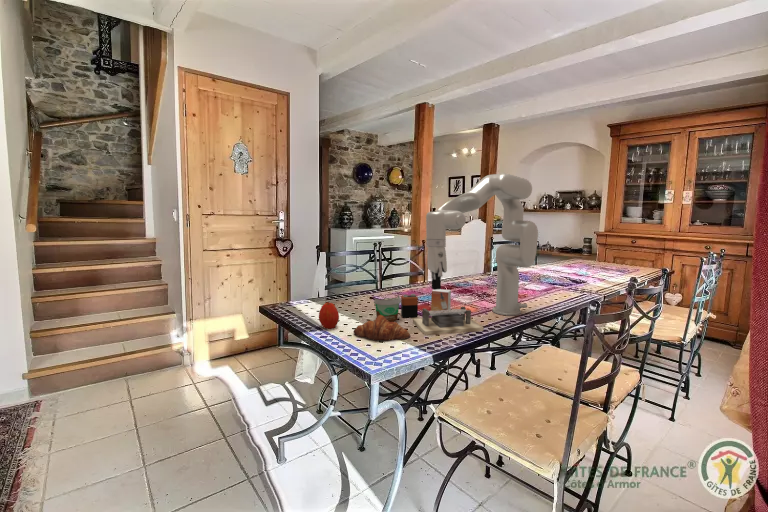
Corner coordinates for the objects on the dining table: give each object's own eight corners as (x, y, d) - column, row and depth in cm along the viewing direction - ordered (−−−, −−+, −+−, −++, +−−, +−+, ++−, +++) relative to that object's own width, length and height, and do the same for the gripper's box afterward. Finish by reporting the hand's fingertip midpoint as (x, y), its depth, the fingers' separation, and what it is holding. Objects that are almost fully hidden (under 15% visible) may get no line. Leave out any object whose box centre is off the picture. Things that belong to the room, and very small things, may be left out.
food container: (380, 325, 152) (380, 301, 150) (373, 321, 157) (373, 298, 156) (406, 321, 157) (406, 298, 156) (398, 317, 163) (399, 295, 162)
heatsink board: (465, 318, 160) (466, 302, 159) (483, 330, 145) (484, 312, 144) (412, 322, 155) (413, 305, 154) (425, 335, 140) (425, 316, 139)
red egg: (316, 325, 151) (315, 300, 150) (336, 323, 154) (335, 298, 153) (321, 332, 144) (320, 305, 142) (341, 329, 147) (341, 303, 145)
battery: (417, 317, 163) (418, 295, 161) (402, 318, 162) (402, 295, 160) (415, 314, 167) (415, 293, 166) (400, 315, 166) (401, 293, 165)
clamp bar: (465, 311, 153) (465, 308, 153) (468, 313, 150) (468, 310, 149) (427, 313, 149) (427, 310, 149) (429, 316, 146) (430, 313, 146)
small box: (430, 313, 169) (431, 290, 168) (433, 310, 175) (434, 288, 173) (447, 315, 166) (448, 292, 165) (450, 311, 172) (451, 289, 170)
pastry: (390, 327, 150) (390, 308, 149) (411, 338, 137) (412, 317, 136) (352, 334, 141) (352, 314, 140) (372, 347, 128) (372, 325, 127)
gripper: (452, 244, 138) (452, 292, 141) (438, 240, 153) (438, 284, 155) (433, 245, 137) (433, 294, 139) (420, 241, 151) (421, 285, 154)
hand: (436, 288), depth 147 cm, fingers closed
